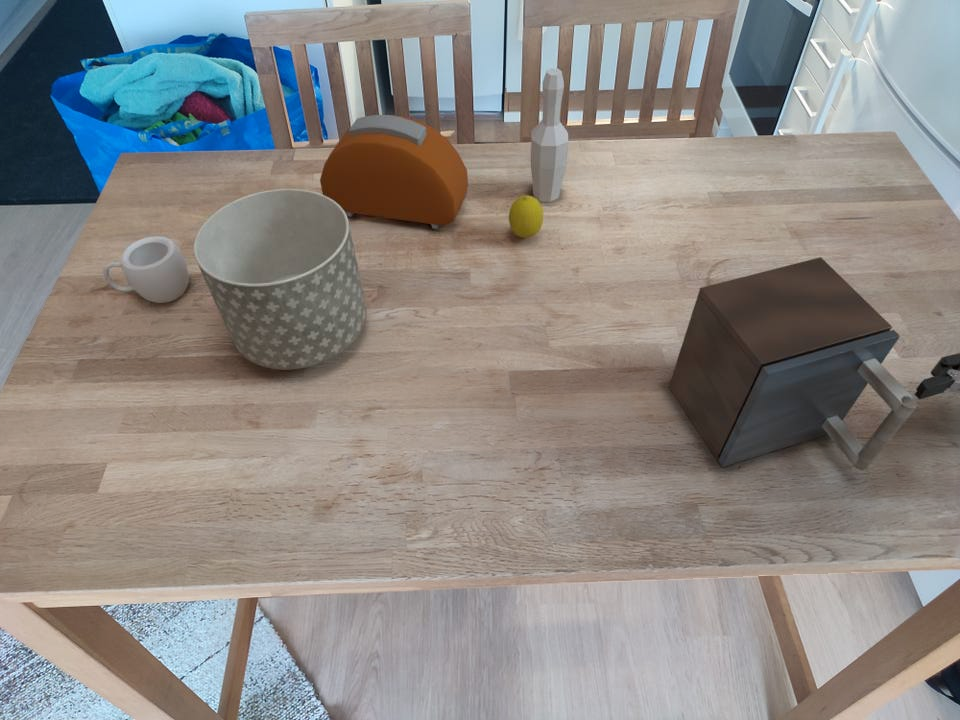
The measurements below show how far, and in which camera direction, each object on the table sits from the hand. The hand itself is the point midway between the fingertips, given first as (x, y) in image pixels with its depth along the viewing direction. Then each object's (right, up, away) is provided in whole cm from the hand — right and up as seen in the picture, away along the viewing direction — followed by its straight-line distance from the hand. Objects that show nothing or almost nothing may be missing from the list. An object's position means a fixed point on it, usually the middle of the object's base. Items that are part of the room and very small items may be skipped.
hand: (947, 421), depth 72 cm
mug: (-102, +17, +30) cm, 107 cm away
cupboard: (-17, +1, +13) cm, 21 cm away
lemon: (-44, +27, +37) cm, 63 cm away
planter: (-77, +11, +23) cm, 81 cm away
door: (-14, -6, +7) cm, 17 cm away
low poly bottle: (-40, +36, +44) cm, 70 cm away
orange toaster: (-66, +33, +42) cm, 85 cm away
